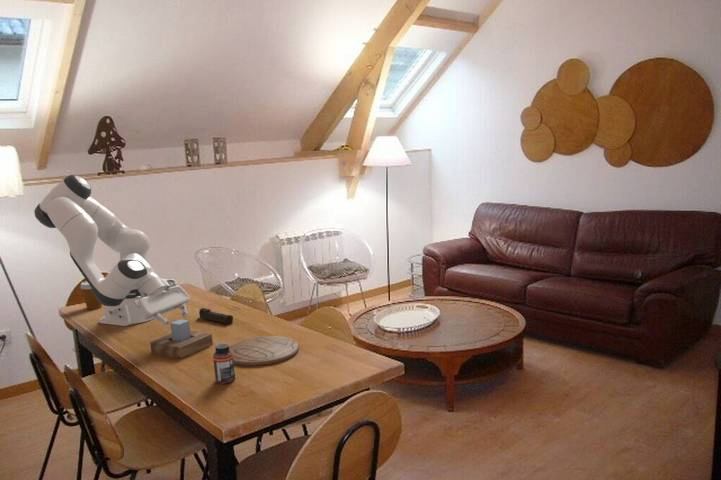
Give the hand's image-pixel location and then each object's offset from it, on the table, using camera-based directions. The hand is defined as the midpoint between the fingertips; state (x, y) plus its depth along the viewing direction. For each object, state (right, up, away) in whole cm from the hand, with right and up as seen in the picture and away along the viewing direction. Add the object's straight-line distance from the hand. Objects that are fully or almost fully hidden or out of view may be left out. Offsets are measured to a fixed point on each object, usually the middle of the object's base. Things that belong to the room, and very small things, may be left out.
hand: (176, 319), depth 212 cm
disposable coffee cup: (-56, -3, +59) cm, 82 cm away
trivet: (+32, -11, -8) cm, 35 cm away
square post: (+2, -10, 0) cm, 11 cm away
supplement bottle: (+24, -15, -30) cm, 41 cm away
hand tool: (+6, -5, +30) cm, 31 cm away
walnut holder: (+2, -10, 0) cm, 11 cm away
